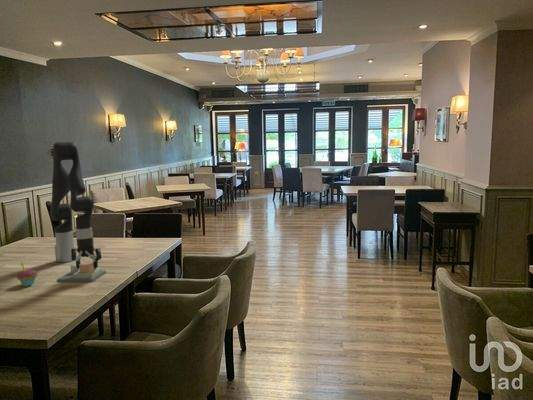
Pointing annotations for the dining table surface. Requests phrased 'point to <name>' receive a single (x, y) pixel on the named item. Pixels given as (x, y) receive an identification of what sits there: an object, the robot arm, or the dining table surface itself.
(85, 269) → the block
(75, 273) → the base board
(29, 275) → the cupcake
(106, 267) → the dining table surface
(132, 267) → the dining table surface
